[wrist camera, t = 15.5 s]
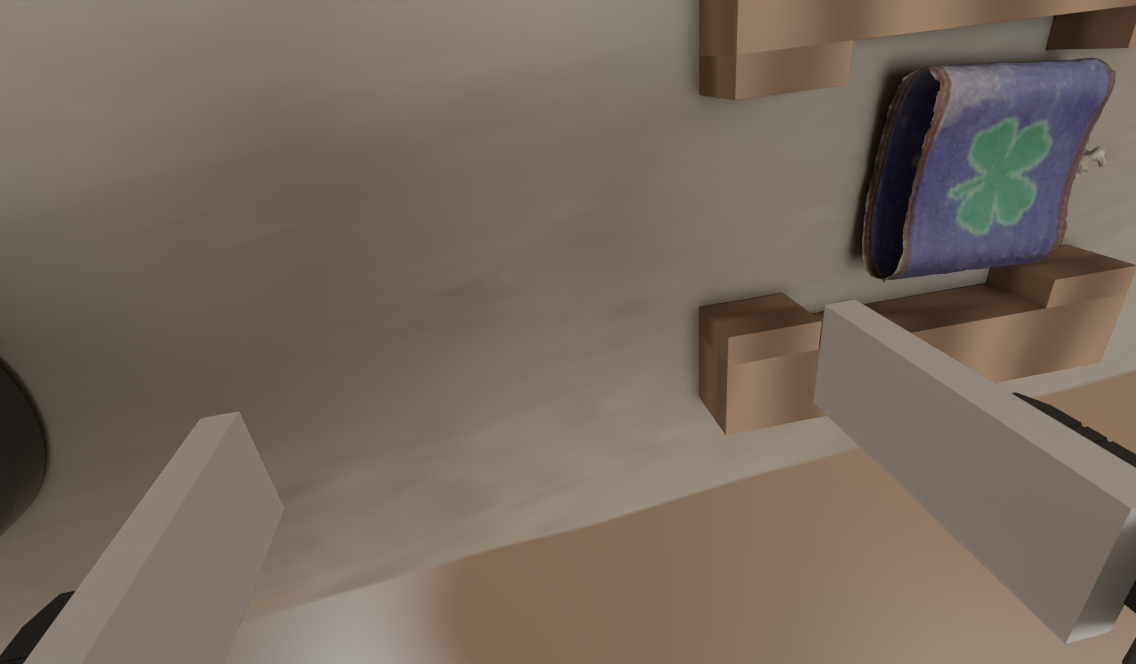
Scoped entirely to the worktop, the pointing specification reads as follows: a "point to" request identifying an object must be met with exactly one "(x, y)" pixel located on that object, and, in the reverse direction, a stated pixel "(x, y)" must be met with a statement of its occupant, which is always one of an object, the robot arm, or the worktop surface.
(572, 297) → the worktop surface
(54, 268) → the worktop surface
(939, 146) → the flask
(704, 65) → the holder
